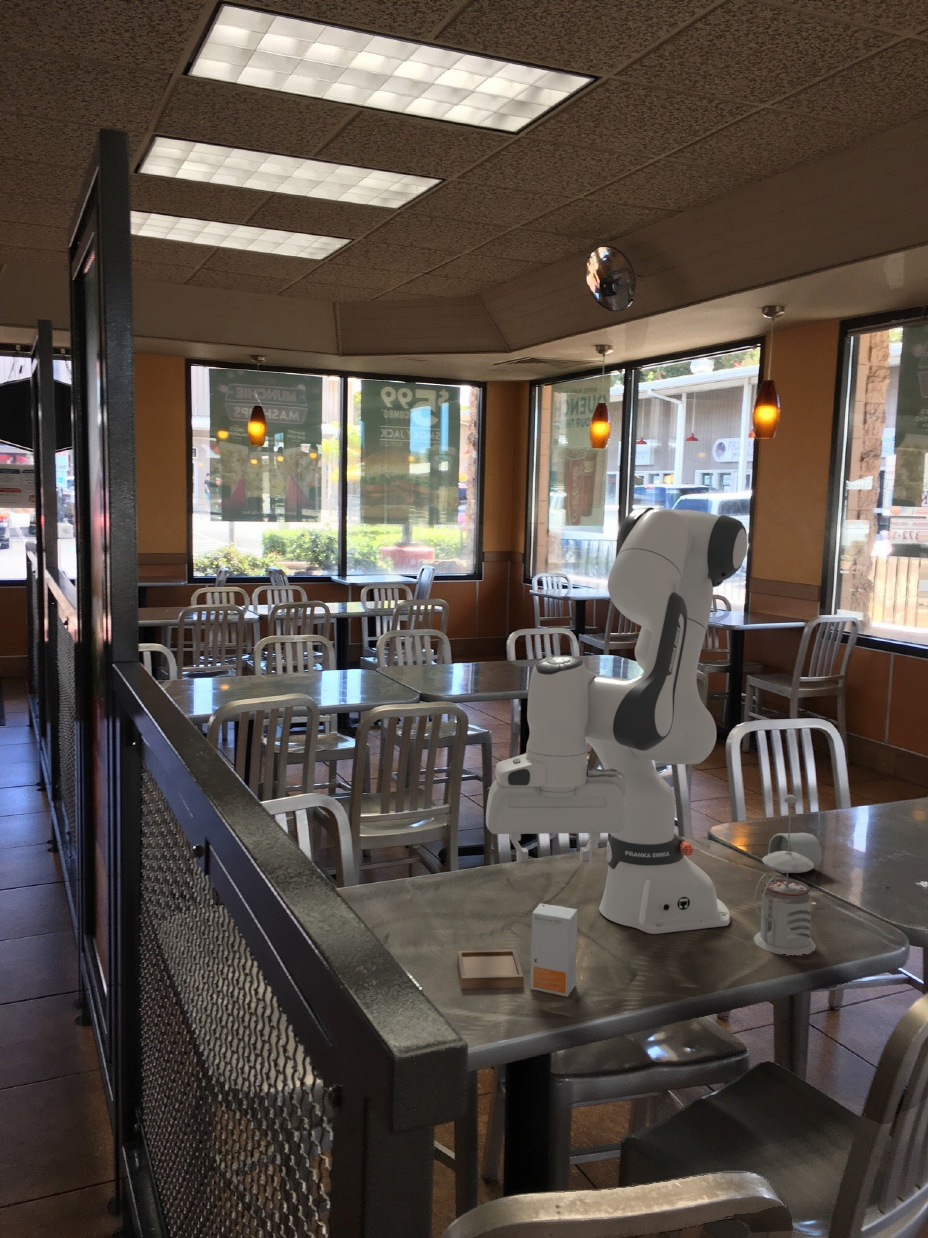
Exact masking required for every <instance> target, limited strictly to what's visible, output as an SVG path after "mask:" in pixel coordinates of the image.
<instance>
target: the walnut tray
mask: <svg viewBox="0 0 928 1238" xmlns="http://www.w3.org/2000/svg"><path fill="white" fill-rule="evenodd" d="M457 968H458V973H459V979H460V980H459V981H460V986H461V987H460V988H461V990H477V989H481V990H482V989H483V990H484V989H511V988H512V989H513V988H524V981H525V979H524V977H525V976H524V973H523V970H522V966H521V963H520V959H519V956H518V952H517V949H488V950H487V949H485V950H457Z"/></svg>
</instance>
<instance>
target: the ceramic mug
mask: <svg viewBox="0 0 928 1238" xmlns="http://www.w3.org/2000/svg"><path fill="white" fill-rule="evenodd" d="M788 834H789V832H788V833H786V832H785V833H783V832H781V833H776V834H774V835H773V836H772V837H771V839H770V840H769V843H768V852H767V855H769V854H771V853H774V852H778V851H788ZM789 851H790V852H795V853H798V854H800V855H802V856H804V857H806V858H808V859H809V860H811V861H812V862H813V864H814V867H813V868H812V869H811V870H813V869H816V868H818V867H820V866H821V863H822V862H823V858H824V850H823V846H822V843H821V841H820V840H819V838H818V837H816V835H814V834H812V833H808V832H807V833H806V832H795V833H794V832H792V833H791V832H790V843H789ZM778 872H779V873H781V874H787V872H780V871H778ZM788 874H789V872H788Z"/></svg>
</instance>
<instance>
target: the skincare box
mask: <svg viewBox="0 0 928 1238" xmlns="http://www.w3.org/2000/svg"><path fill="white" fill-rule="evenodd" d="M578 914H579V910H578V909H577V908H572V907H566V906H563V905H562V906H561V905H555V904H554V905H553V904H552V905H551V904H546V903H539V904H538V905H537V907H536V908H535V909H534V910H533V912H532V913H531V935H530V937H531V942H530V972H529V973H530V974H529V975H530V976H529V981H530V982H529V990H532V991H533V990H534V991H538V992H543V993H548V994H554V995H558V996H562V997H565V996H566V998H567V997H569V996H570V994H571V993H572V991H573V990H574V988H575V987H576V977H577V975H576V973H577V951H578V950H577V945H578V943H577V942H578V940H577V939H578V920H579V919H578ZM570 992H571V993H570ZM568 995H569V996H568Z"/></svg>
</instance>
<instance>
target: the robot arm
mask: <svg viewBox="0 0 928 1238" xmlns="http://www.w3.org/2000/svg"><path fill="white" fill-rule="evenodd" d="M619 548H620V549H619V551H618V554H617V556H616V558H615V560H614V562H613V565H612V566H611V569H610V572H609V576H608V580H607V591H608V595H609V598H610V600H611V602H612V604H613V605H614V606H615V608H616V609H617V610H618V612H620V614H622V615H623V616H624V617H625V618H626V619H628V620H629V621H631V622H633V623H634V624H637V625H638V626H641V628H640V631H639V633H638V638H637V641H636V644H635V647H634V658H635V659H636V662H637V665H638V666H639V667H640V668H641V669H642V670H643V672H642V674H640V675H639V676H637V677H635V678H621V677H614V676H607V675H601V674H597V673H595V672H593V671H590V670H589V669H587V667H586V663H585V661H584V660H583V659H581V658H580V657H577V656H573V655H558V656H549V657H545V658H543V659H541V660H538V662H536V663H535V664H534V666H533V668H532V671H531V675H530V679H529V686H528V693H527V694H528V695H527V711H526V718H527V724H528V728H529V729H528V730H529V735H528V739H527V743H526V750H525V751H526V752H525V753H523V754H520V755H517V756H513V757H511V758H507V759H504V760H501V761H498V762H497V763H496V764H495V771H494V772H495V778H496V779H494V781H493V782H492V784H491V785H490V788H489V791H488V796H487V802H486V810H485V811H486V812H485V824H486V827H487V830H488V831H489V832H490V833H491V834H494V835H507V834H509V839H510V841H511V843H512V844H513V846H514V848H515V849H516V861H517V863H519V864H522V863H529V858H528V857H529V850H528V848H527V847H522V845H520V843H519V841H521V839H522V835H524V834H526V835H527V834H532V835H533V834H535V835H536V834H539V835H541V834H548V835H549V834H588V836H589V838H590V839H589V841H588V842H587V844H586V846H583V847H580V848H579V852H580V854H579V858H580V859H579V860H580V861H581V863H592V862H593V852H594V851H595V850H596V848H597V846H598V845H599V843H600V841H601V834H607V841H606V861H607V862H606V863H607V866H608V867H607V874H606V882H605V886H604V892H603V895H602V899H601V902H600V904H599V912H600V913H601V915H602V916H603V917H605V918H606V919H607V920H610V921H612V922H614V923H616V924H618V925H622V926H626V927H631V928H635V929H638V930H640V931H642V932H644V933H647V934H650V935H657V934H665V933H666V934H667V933H673V932H676V933H677V932H683V931H692V930H700V929H701V930H702V929H708V928H709V929H710V928H718V927H726V926H728V925H730V922H731V915H730V911H729V909H728V907H727V906H726V905H725V904H724V902H722V900H720V899H719V898H717V891H716V887H715V885H714V883H713V880H712V879H711V878H710V876H709V875H708V874H707V873H706V871H704V870H703V869H701V868H700V867H699V866H698V865H696V864H695V863H694V862H693V861H692V860H690V859H689V858H688V857H690V856H692V854H694V851H695V849H694V847H693V845H692V844H691V843H690V842H688V841H685V839H684V838H683V837H681V836H679V835H678V834H677V833H675V825H676V824H675V819H676V818H675V817H676V816H675V815H676V796H675V792H674V789H672V786H671V785H670V784H669V783H668V782H666V780H664V779H663V777H662V776H661V775H660V774H659V773H658V771H657V770H656V767H655V766H654V763H653V761H655V762H659V763H664V764H670V765H697V764H700V763H702V762H704V761H705V760H706V759H707V758H708V757H709V755H711V753H712V752H713V750H714V747H715V745H716V741H717V725H716V723H715V720H714V718H713V715H712V714H711V712H710V711H709V710H708V709H707V708H706V706H705V705H704V703H703V701H702V699H701V696H700V692H699V689H698V682H697V675H698V674H697V672H698V666H699V661H700V656H701V652H702V648H703V644H704V641H705V636H706V634H707V629H708V626H709V622H710V616H711V613H712V605H713V598H714V588H716V587H720V586H721V585H722V584H723V582H724V581H726V580H729V579H730V578H731V577H732V576H734V575H735V574H736V573H737V572H738V571H739V570H740V568H742V566H743V562H744V560H745V558H746V555H747V551H748V535H747V530H746V527H745V525H744V523H743V522H742V521H741V520H740V519H736V518H735V517H731V516H728V515H725V514H721V515H718V514H713V513H710V512H706V511H701V510H694V509H673V508H672V509H671V508H653V507H652V506H650V507H649V506H648V507H642V508H641V507H640V508H639V507H638V508H636V509H633V510H632V511H631V512H630V513H629V514H628V515H627V516H625V518H624V519H623V521H622V524H621V527H620V532H619ZM587 743H588V744H589V745H590V746H591V748H593V750H594V752H595V754H596V755H597V757H598V759H599V761H600V763H601V764H602V765H601V766H602V769H601V768H588V744H587Z"/></svg>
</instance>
